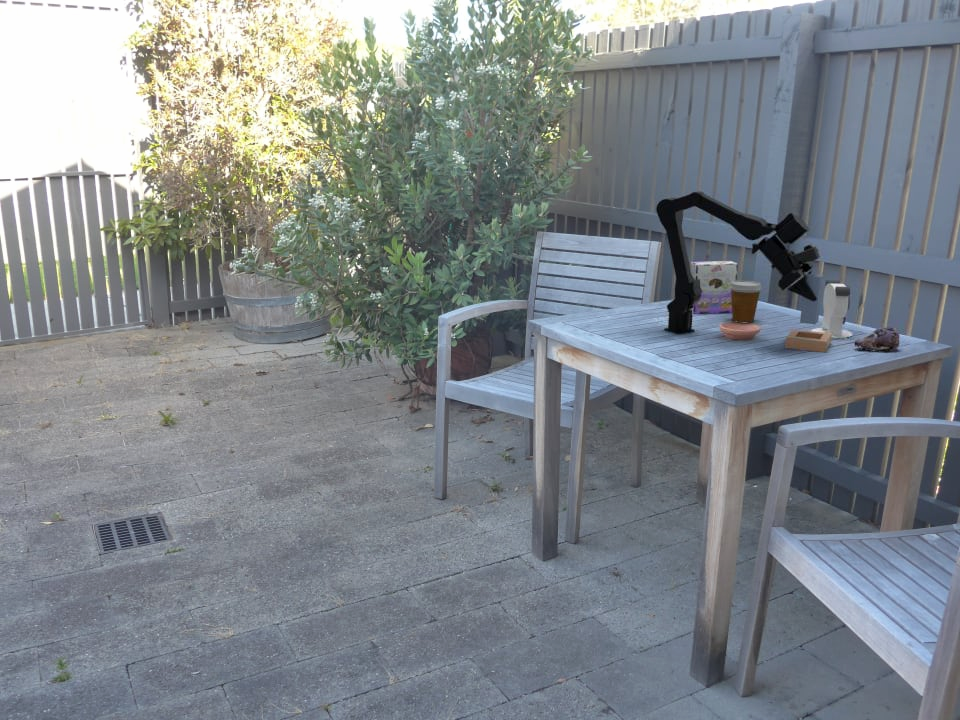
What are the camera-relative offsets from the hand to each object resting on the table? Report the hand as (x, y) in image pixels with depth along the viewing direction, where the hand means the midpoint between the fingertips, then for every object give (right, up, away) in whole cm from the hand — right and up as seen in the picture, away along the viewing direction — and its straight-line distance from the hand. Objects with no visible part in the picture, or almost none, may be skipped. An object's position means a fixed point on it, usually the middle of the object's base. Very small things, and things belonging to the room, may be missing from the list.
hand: (816, 298), depth 227 cm
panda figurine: (+12, -9, +18) cm, 23 cm away
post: (-1, -6, +2) cm, 7 cm away
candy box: (-16, -1, +48) cm, 50 cm away
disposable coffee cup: (-9, -5, +35) cm, 36 cm away
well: (0, -13, +5) cm, 14 cm away
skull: (+17, -14, +2) cm, 22 cm away
